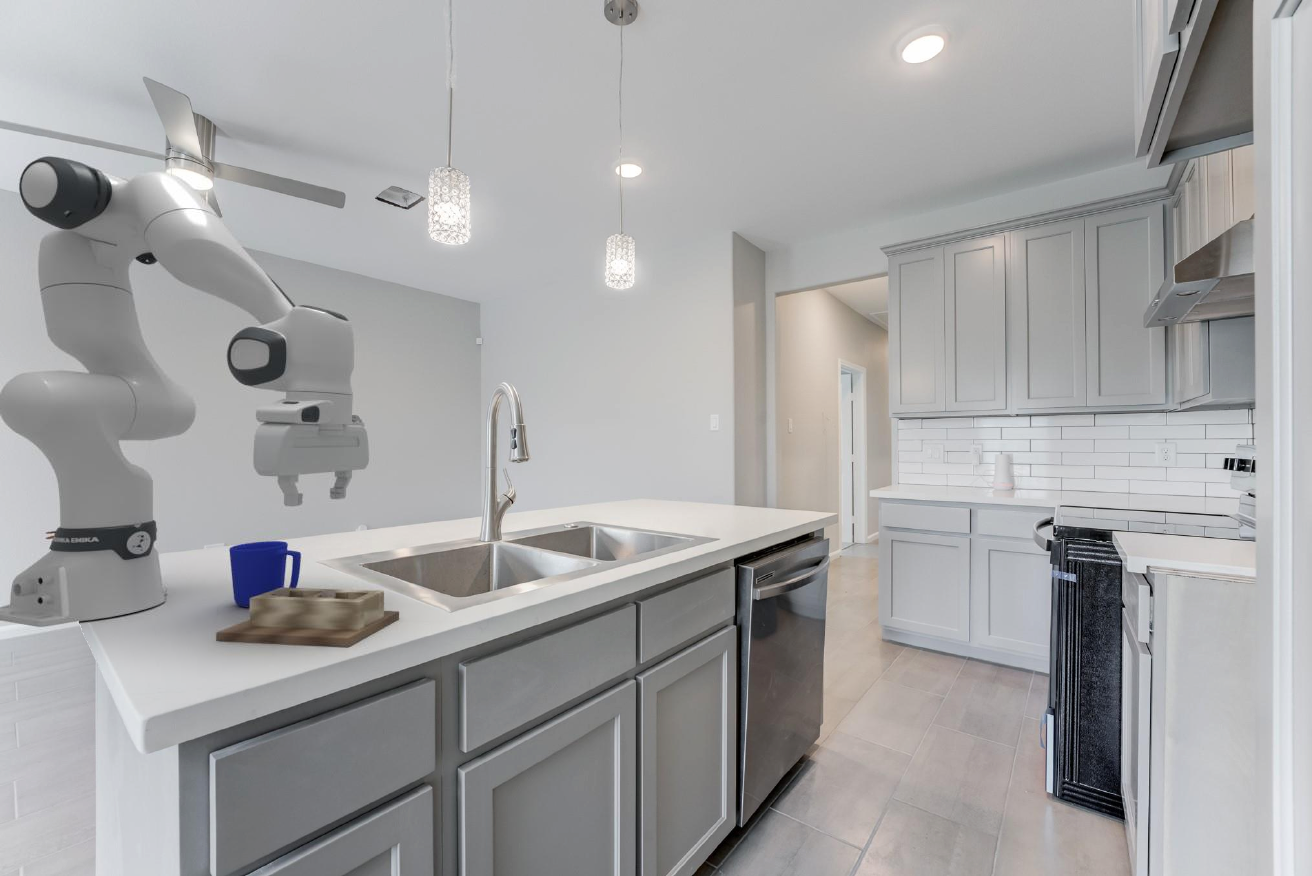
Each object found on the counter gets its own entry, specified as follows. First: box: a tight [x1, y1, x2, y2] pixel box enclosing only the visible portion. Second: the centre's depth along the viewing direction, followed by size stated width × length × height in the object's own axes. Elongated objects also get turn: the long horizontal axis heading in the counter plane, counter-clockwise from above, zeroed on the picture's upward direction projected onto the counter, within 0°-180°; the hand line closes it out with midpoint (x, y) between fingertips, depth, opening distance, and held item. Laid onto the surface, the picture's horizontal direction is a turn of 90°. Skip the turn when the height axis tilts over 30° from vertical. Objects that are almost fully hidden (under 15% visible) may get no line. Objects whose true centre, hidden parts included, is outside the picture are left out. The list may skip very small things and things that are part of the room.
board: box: [215, 587, 400, 648], centre depth 83 cm, size 20×12×6 cm, turn 83°
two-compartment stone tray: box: [249, 586, 385, 631], centre depth 83 cm, size 17×6×4 cm, turn 83°
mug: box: [228, 540, 302, 608], centre depth 96 cm, size 8×12×10 cm
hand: (316, 502), depth 86 cm, fingers open, 8 cm apart
